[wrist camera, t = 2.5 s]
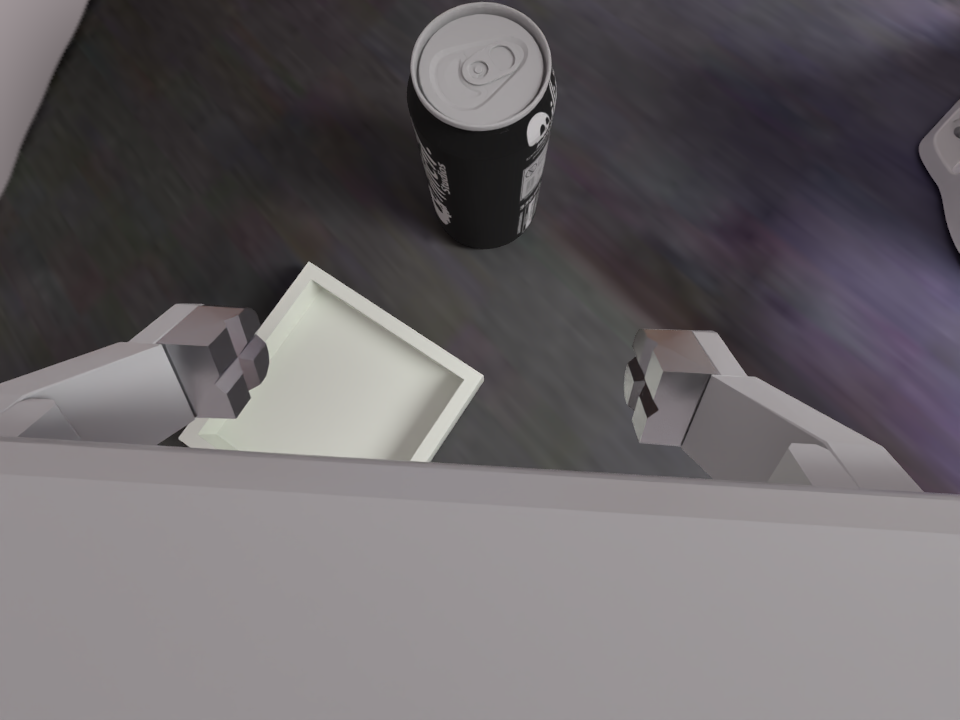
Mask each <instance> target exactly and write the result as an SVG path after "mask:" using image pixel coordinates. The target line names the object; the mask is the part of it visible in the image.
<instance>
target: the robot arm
mask: <svg viewBox="0 0 960 720" xmlns="http://www.w3.org/2000/svg"><path fill="white" fill-rule="evenodd" d="M919 154H920V157H921V160H922V162H923V164H924V165H925V167H926V169H927V170H928V172H929V174H930V175H931V177H932V178H933V180H934V181H935V183H936V184H937V185H938V187H939V190H940V193H941V196H942V200H943V206H944V212H945V217H946V222H947V225H948V229H949V232H950V234H951V237H952V239H953V242H954V244H955V246H956V248H957V250H958V251H959V253H960V99H959V100H958V101H957V103H956V104H955V105H954V106H953V107H952V108H951V109H950V110H949V111H948V112H947V113H946V114H945V116H944V117H943V118H942V119H941V120H940V121H939V122H938V123H937V124H936V125H935V126H934V127H933V128H932V130H931V131H930V132H929V133H928V134H927V135H926V136H925V137H924V138H923V139H922V141H921V143H920V145H919ZM260 327H261V324H260V321H259V318H258V316H257V313H256V312H255V311H254V310H253V309H251V308H247V307H233V306H220V305H204V304H189V303H181V304H175V305H174V306H172V307H171V308H170V309H169V310H167V311H166V312H165V313H164V314H162V315H161V316H160V317H159V318H157V319H156V320H155V321H154V322H152V323H151V324H150V325H149V326H147V327H146V328H145V329H144V330H142V331H141V332H140V333H139V334H137V335H136V336H135V337H134V338H132V339H131V340H130V341H129V342H118V343H116V344H113V345H110V346H107V347H104V348H101V349H98V350H95V351H93V352H90V353H87V354H84V355H81V356H78V357H75V358H72V359H69V360H67V361H64V362H61V363H58V364H55V365H52V366H49V367H46V368H43V369H41V370H38V371H35V372H32V373H29V374H26V375H23V376H20V377H18V378H15V379H12V380H9V381H6V382H3V383H0V720H960V494H943V493H927V492H923V491H922V490H921V489H920V487H919V486H918V485H917V484H916V483H915V482H914V481H913V480H912V479H911V477H910V476H909V475H908V474H907V473H906V472H905V471H904V470H903V468H902V467H901V466H900V465H899V464H898V463H897V462H896V461H895V460H894V458H893V457H892V456H891V455H890V454H889V453H888V452H887V451H886V450H885V448H884V447H882V446H880V445H879V444H877V443H875V442H873V441H871V440H869V439H868V438H866V437H864V436H862V435H860V434H859V433H857V432H855V431H853V430H851V429H849V428H848V427H846V426H844V425H842V424H840V423H838V422H837V421H835V420H833V419H831V418H829V417H828V416H826V415H824V414H822V413H820V412H818V411H817V410H815V409H813V408H811V407H809V406H807V405H806V404H804V403H802V402H800V401H798V400H797V399H795V398H793V397H791V396H789V395H787V394H786V393H784V392H782V391H780V390H778V389H776V388H775V387H773V386H771V385H769V384H767V383H766V382H764V381H762V380H760V379H758V378H756V377H748V376H747V375H746V374H745V372H744V371H743V369H742V368H741V366H740V365H739V364H738V362H737V361H736V359H735V358H734V356H733V355H732V354H731V352H730V351H729V349H728V348H727V346H726V345H725V344H724V342H723V341H722V339H721V338H720V336H719V335H718V333H716V332H714V331H698V330H663V329H639V330H638V332H637V333H636V335H635V338H634V342H633V345H632V347H633V349H634V352H635V355H636V357H634V358H633V359H632V360H631V361H630V362H629V363H628V364H627V368H626V372H625V377H624V394H625V399H626V403H627V406H629V407H630V408H631V409H633V410H634V415H633V418H632V422H633V425H634V428H635V431H636V434H637V437H638V440H639V443H647V444H659V445H671V446H682V449H683V450H684V451H685V452H686V453H687V454H688V455H689V456H690V457H691V458H692V459H693V460H694V461H695V462H696V463H697V464H698V465H699V466H700V467H701V468H702V469H703V470H704V471H706V472H707V473H708V474H709V475H710V476H711V477H712V478H713V479H698V478H682V477H665V476H649V475H632V474H616V473H600V472H583V471H567V470H550V469H534V468H517V467H501V466H484V465H468V464H451V463H435V462H419V461H402V460H386V459H370V458H353V457H337V456H320V455H304V454H288V453H271V452H255V451H239V450H222V449H206V448H190V447H173V446H157V444H159V443H160V442H162V441H163V440H165V439H166V438H168V437H169V436H171V435H172V434H174V433H175V432H177V431H179V430H180V429H182V428H183V427H185V426H186V425H188V424H189V423H191V422H192V421H194V420H195V418H223V419H236V418H237V417H238V416H239V414H240V413H241V411H242V410H243V409H244V407H245V406H246V404H247V403H248V402H249V400H250V399H251V396H250V393H249V390H251V389H253V388H255V387H257V386H259V385H260V384H261V383H262V382H263V380H264V379H265V377H266V375H267V371H268V367H269V352H268V348H267V345H266V343H265V342H264V341H263V340H262V339H261V338H260V337H259V336H258V335H257V333H258V331H259V329H260Z"/></svg>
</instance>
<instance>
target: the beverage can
mask: <svg viewBox="0 0 960 720" xmlns="http://www.w3.org/2000/svg"><path fill="white" fill-rule="evenodd" d="M556 99H557V84H556V79H555V74H554V71H553V68H552V65H551V54H550V49H549V46H548V43H547V41H546V38H545V36H544V35H543V33H542V31H541V30H540V29H539V28H538V26H537V25H536V24H535V23H534V22H533V21H532V20H531V19H530V18H529V17H527V16H526V15H524V14H523V13H521V12H520V11H518V10H516V9H513V8H511V7H508V6H506V5H502V4H498V3H492V2H476V3H468V4H463V5H460V6H457V7H454V8H451V9H449V10H447V11H445V12H444V13H442V14H441V15H439V16H437V17H436V18H435V19H434V20H432V21H431V22H430V23H429V24H428V25H427V26H426V27H425V29H424V30H423V31H422V33H421V34H420V36H419V37H418V39H417V41H416V43H415V46H414V49H413V52H412V57H411V73H410V77H409V81H408V87H407V102H408V108H409V112H410V116H411V120H412V124H413V127H414V131H415V135H416V139H417V143H418V146H419V150H420V154H421V158H422V162H423V165H424V169H425V173H426V177H427V181H428V184H429V188H430V192H431V196H432V200H433V203H434V207H435V211H436V215H437V217H438V220H439V222H440V224H441V225H442V227H443V228H444V230H445V231H446V232H447V233H448V234H449V235H450V236H451V237H452V238H454V239H455V240H456V241H458V242H460V243H462V244H464V245H467V246H469V247H473V248H480V249H490V248H496V247H500V246H503V245H506V244H508V243H510V242H512V241H514V240H515V239H516V238H518V237H519V236H520V235H521V234H522V233H523V232H524V231H525V230H526V229H527V227H528V226H529V224H530V223H531V221H532V219H533V216H534V213H535V210H536V205H537V199H538V194H539V189H540V184H541V178H542V173H543V168H544V163H545V158H546V152H547V147H548V142H549V137H550V131H551V126H552V121H553V116H554V111H555V105H556Z"/></svg>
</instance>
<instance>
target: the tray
mask: <svg viewBox="0 0 960 720" xmlns="http://www.w3.org/2000/svg"><path fill="white" fill-rule="evenodd" d="M257 335H258V336H259V337H260V338H261V339H262V340H263V341H264V342H265V343H266V345H267V348H268V352H269V367H268V371H267V375H266V377H265V379H264V380H263V382H262V383H261V384H260V385H259V386H257V387H255V388H253V389H251V390H249V393H250V396H251V399H250V400H249V402H248V403H247V404H246V406H245V407H244V409H243V410H242V411H241V413H240V414H239V416H238V417H237V418H236V419H223V418H195V420H194V421H192V422H191V423H189V424H188V426H187V427H186V428H185V430H184V431H183V432H182V434H181V435H180V436H179V438H178V439H179V440H181V441H182V442H183V443H185V444H186V445H187V446H189V447H190V448H206V449H222V450H239V451H255V452H271V453H288V454H304V455H320V456H337V457H353V458H370V459H386V460H402V461H419V462H431V460H432V458H433V457H434V455H435V454H436V452H437V451H438V449H439V448H440V446H441V445H442V443H443V442H444V440H445V439H446V437H447V436H448V434H449V433H450V431H451V430H452V428H453V427H454V425H455V424H456V422H457V421H458V419H459V418H460V416H461V415H462V413H463V412H464V410H465V409H466V407H467V406H468V404H469V403H470V401H471V400H472V398H473V397H474V395H475V394H476V392H477V391H478V389H479V387H480V386H481V384H482V383H483V381H484V376H483V375H482V374H480V373H479V372H477V371H476V370H474V369H473V368H471V367H470V366H468V365H467V364H465V363H464V362H462V361H460V360H459V359H457V358H456V357H454V356H453V355H451V354H450V353H448V352H447V351H445V350H444V349H442V348H441V347H439V346H438V345H436V344H434V343H433V342H431V341H430V340H428V339H427V338H425V337H424V336H422V335H421V334H419V333H418V332H416V331H415V330H413V329H412V328H410V327H408V326H407V325H405V324H404V323H402V322H401V321H399V320H398V319H396V318H395V317H393V316H392V315H390V314H389V313H387V312H385V311H384V310H382V309H381V308H379V307H378V306H376V305H375V304H373V303H372V302H370V301H369V300H367V299H366V298H364V297H363V296H361V295H359V294H358V293H356V292H355V291H353V290H352V289H350V288H349V287H347V286H346V285H344V284H343V283H341V282H340V281H338V280H337V279H335V278H333V277H332V276H330V275H329V274H327V273H326V272H324V271H323V270H321V269H320V268H318V267H317V266H315V265H314V264H312V263H310V262H308V263H307V265H306V266H305V267H304V269H303V270H302V271H301V273H300V274H299V275H298V277H297V278H296V279H295V281H294V282H293V284H292V285H291V286H290V288H289V289H288V290H287V292H286V293H285V294H284V296H283V297H282V298H281V300H280V301H279V302H278V304H277V305H276V307H275V308H274V309H273V311H272V312H271V313H270V315H269V316H268V317H267V319H266V320H265V321H264V323H263V324H262V325H261V327H260V329H259V331H258V333H257Z"/></svg>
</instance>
